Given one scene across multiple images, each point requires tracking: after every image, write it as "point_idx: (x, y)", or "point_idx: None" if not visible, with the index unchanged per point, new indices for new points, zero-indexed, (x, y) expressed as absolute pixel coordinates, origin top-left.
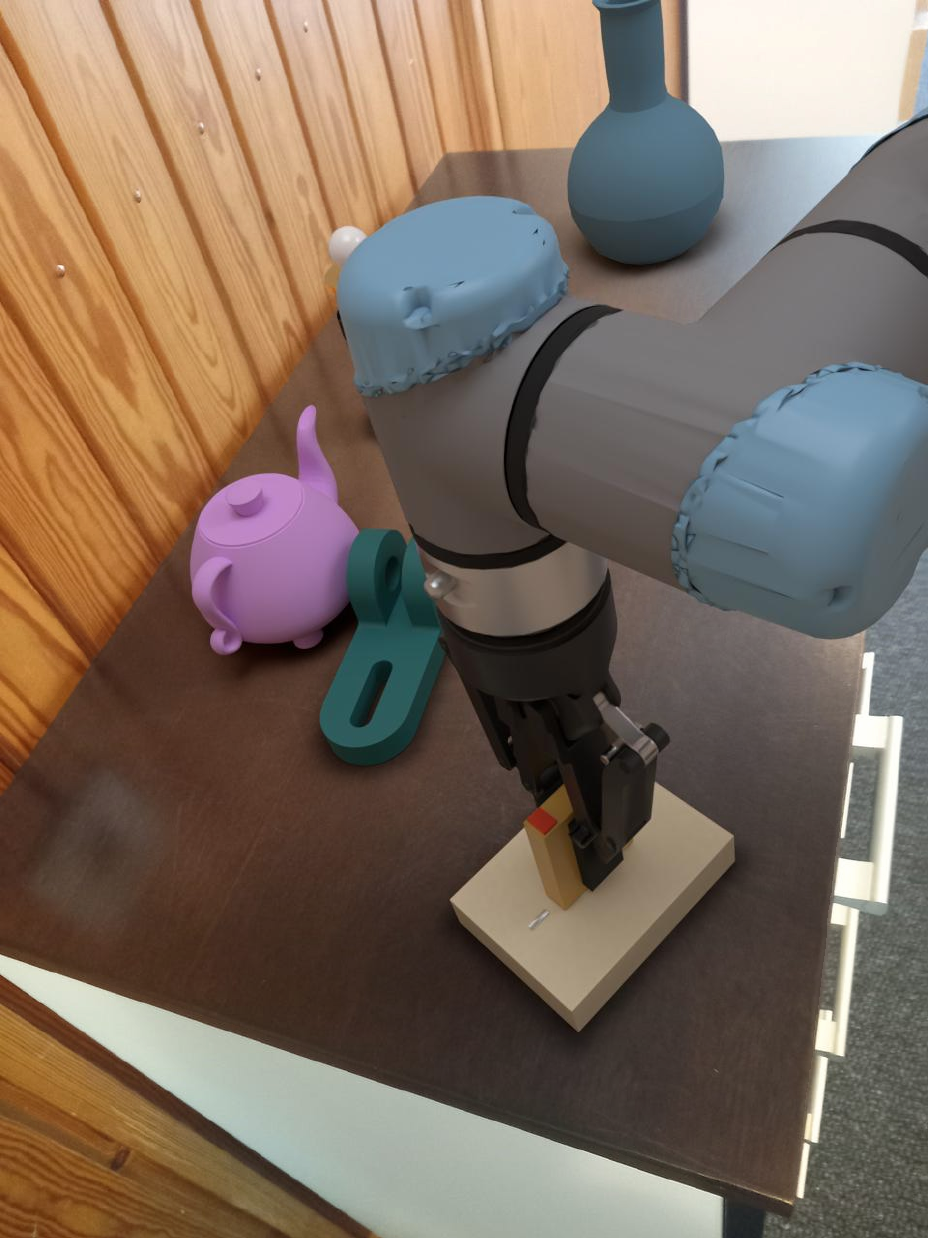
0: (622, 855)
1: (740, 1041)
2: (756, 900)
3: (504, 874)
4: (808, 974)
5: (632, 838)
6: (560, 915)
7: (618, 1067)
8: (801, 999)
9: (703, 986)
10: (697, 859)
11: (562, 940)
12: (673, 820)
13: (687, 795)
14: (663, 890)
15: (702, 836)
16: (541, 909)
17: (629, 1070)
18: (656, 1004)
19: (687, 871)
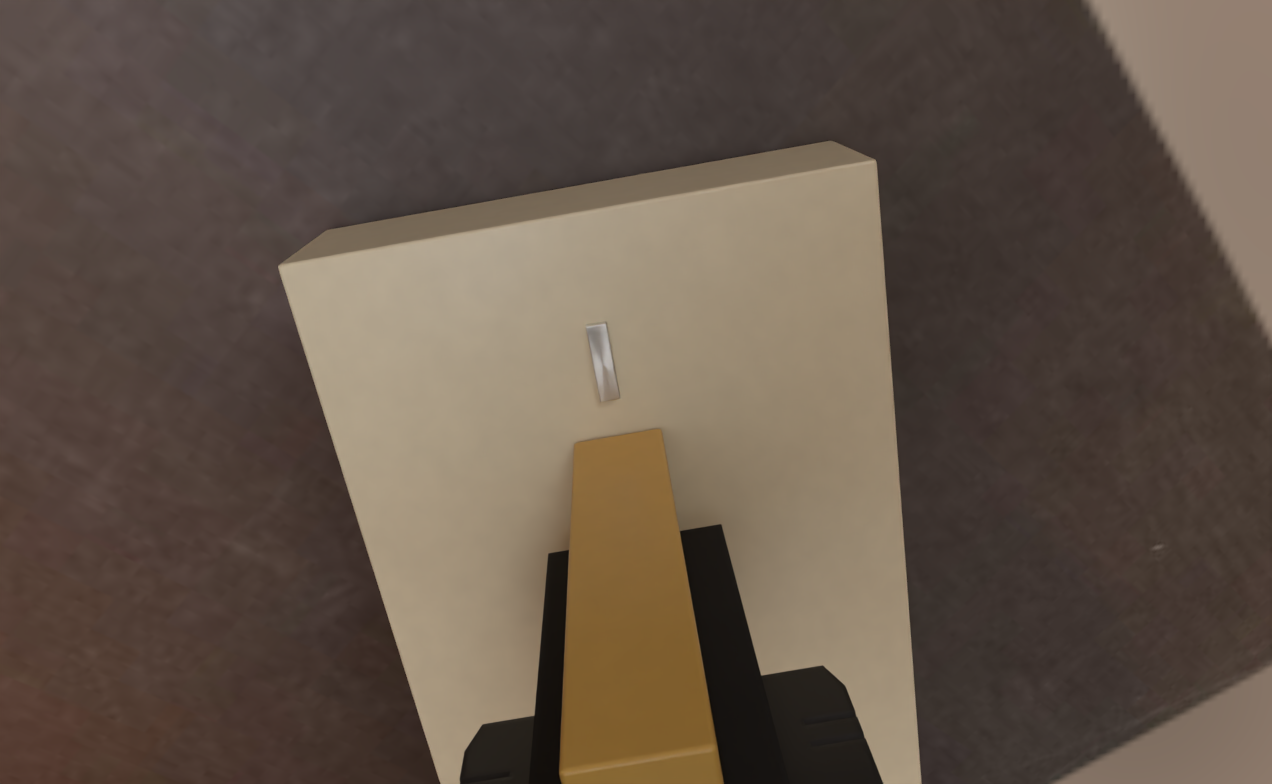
0: (725, 541)
1: (1161, 468)
2: (960, 181)
3: None
4: (1195, 227)
5: (662, 438)
6: None
7: (996, 691)
8: (1217, 289)
9: (1013, 450)
10: (853, 317)
11: None
12: (687, 278)
13: (551, 86)
14: (852, 461)
15: (801, 244)
16: None
17: (1017, 679)
18: (961, 557)
19: (858, 366)
